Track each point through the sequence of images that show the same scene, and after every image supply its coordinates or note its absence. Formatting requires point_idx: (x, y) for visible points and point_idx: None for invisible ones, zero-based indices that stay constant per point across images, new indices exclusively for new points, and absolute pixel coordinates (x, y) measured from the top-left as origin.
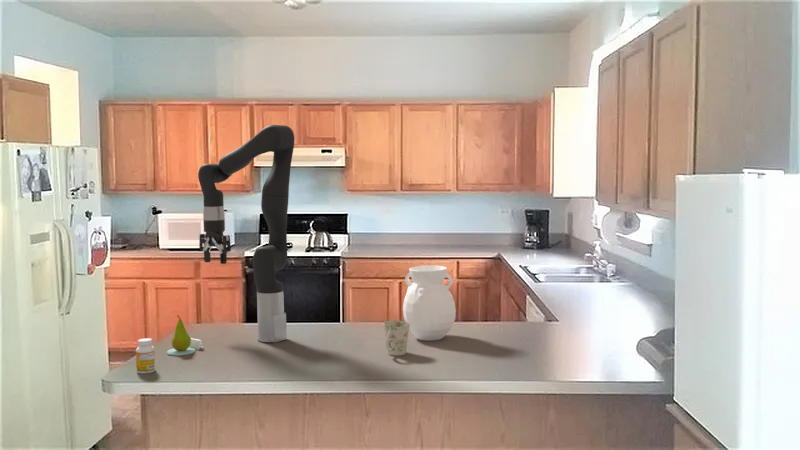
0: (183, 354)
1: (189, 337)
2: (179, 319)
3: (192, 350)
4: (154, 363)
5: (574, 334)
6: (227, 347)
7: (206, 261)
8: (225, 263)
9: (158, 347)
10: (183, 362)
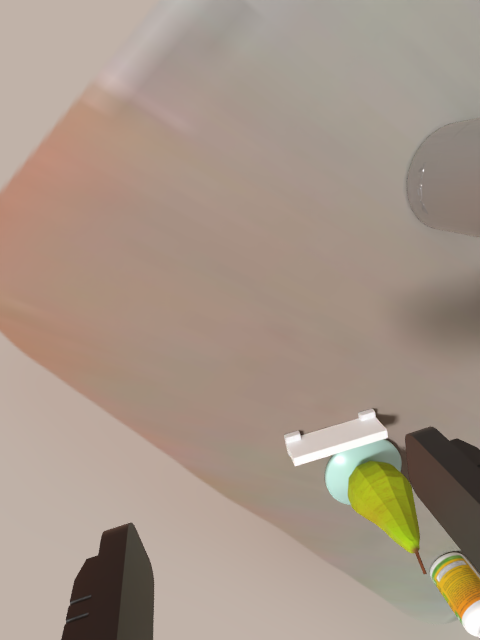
0: None
1: (404, 482)
2: (415, 553)
3: (388, 449)
4: (475, 570)
5: None
6: (416, 349)
7: (151, 575)
8: (426, 430)
9: (258, 500)
10: None
